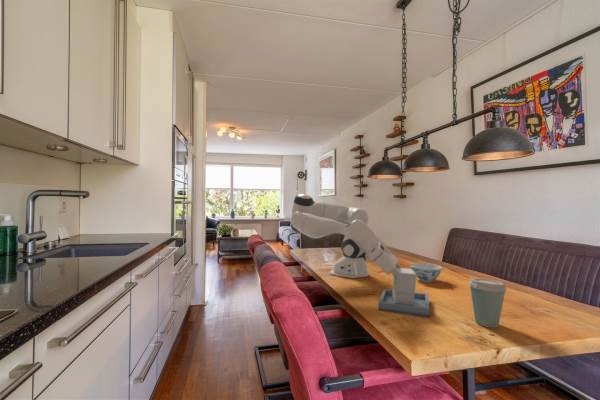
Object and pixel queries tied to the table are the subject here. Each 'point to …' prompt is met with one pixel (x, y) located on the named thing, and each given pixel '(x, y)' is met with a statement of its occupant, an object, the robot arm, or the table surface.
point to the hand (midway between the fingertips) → (402, 275)
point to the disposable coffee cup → (487, 301)
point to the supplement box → (404, 287)
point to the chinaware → (426, 271)
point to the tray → (417, 309)
